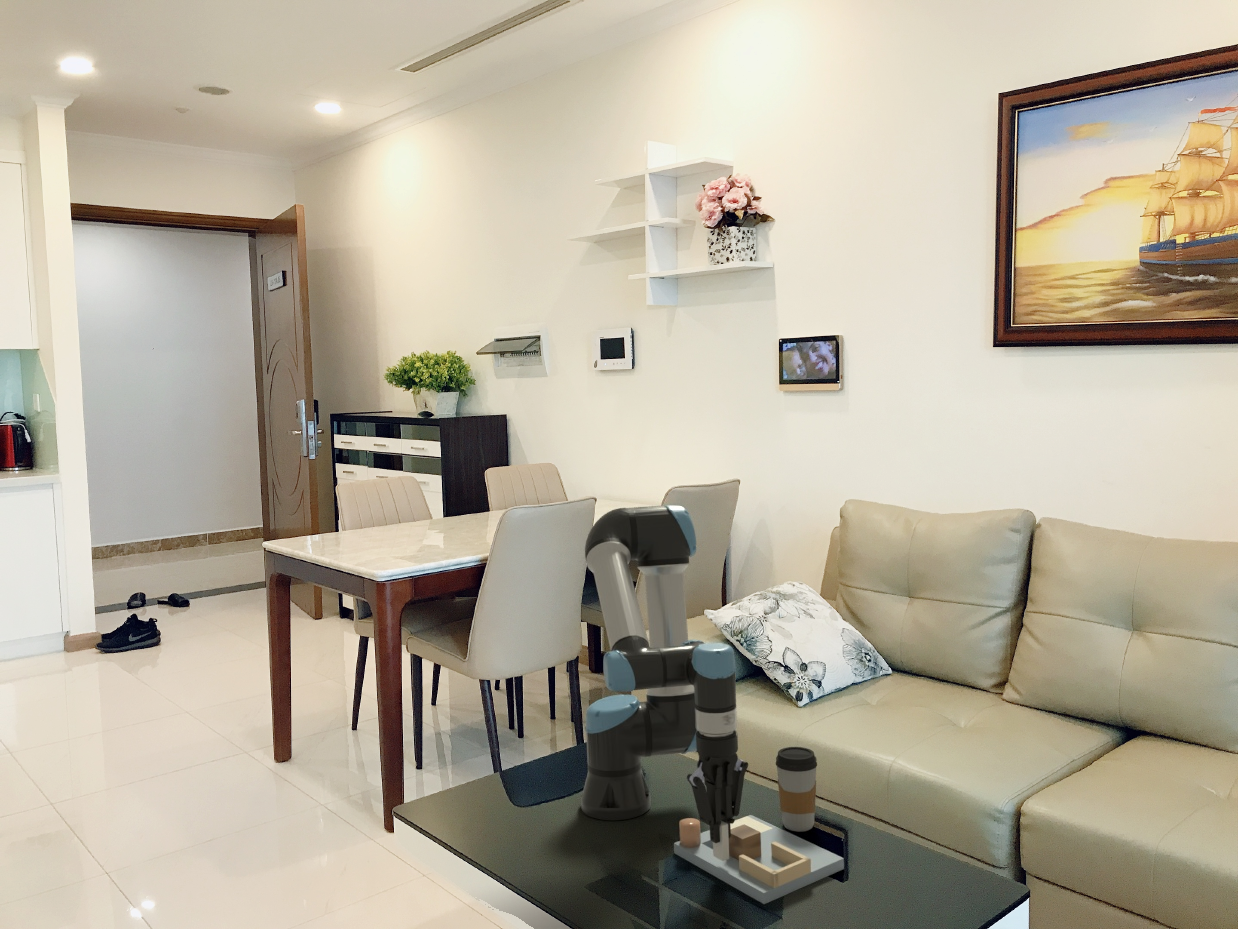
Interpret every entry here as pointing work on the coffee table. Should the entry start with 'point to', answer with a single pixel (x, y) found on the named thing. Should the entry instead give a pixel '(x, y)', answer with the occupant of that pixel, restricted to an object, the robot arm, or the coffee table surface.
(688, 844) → the beige cylinder
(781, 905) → the coffee table surface
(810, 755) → the coffee cup
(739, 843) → the walnut cube
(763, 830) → the board
